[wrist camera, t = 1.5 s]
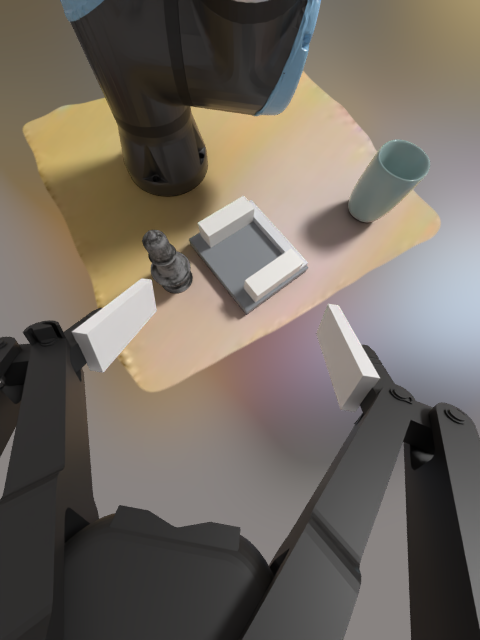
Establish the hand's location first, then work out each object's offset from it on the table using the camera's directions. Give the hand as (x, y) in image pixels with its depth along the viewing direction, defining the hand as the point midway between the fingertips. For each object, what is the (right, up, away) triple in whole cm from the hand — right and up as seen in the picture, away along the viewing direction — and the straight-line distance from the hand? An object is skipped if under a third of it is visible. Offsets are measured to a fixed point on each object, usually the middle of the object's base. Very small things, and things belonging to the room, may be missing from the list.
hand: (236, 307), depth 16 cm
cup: (+24, +20, +24) cm, 39 cm away
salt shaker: (-10, +6, +19) cm, 22 cm away
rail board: (+2, +10, +20) cm, 23 cm away
